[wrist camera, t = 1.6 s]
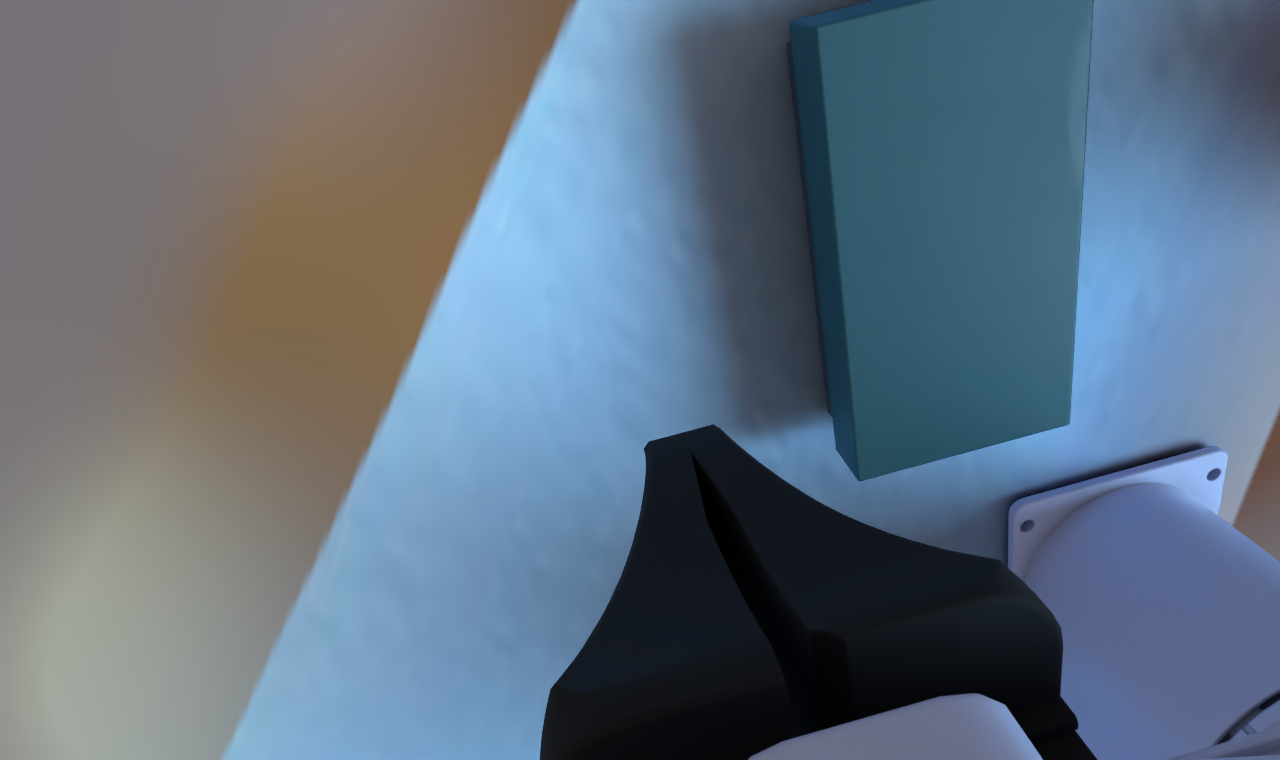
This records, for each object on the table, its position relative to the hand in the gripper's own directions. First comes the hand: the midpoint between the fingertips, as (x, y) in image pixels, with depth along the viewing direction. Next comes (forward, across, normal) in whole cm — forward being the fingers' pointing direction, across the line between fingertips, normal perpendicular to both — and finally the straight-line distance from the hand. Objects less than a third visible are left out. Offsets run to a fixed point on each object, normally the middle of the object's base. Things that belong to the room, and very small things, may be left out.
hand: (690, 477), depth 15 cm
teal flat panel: (+9, -8, 0) cm, 13 cm away
